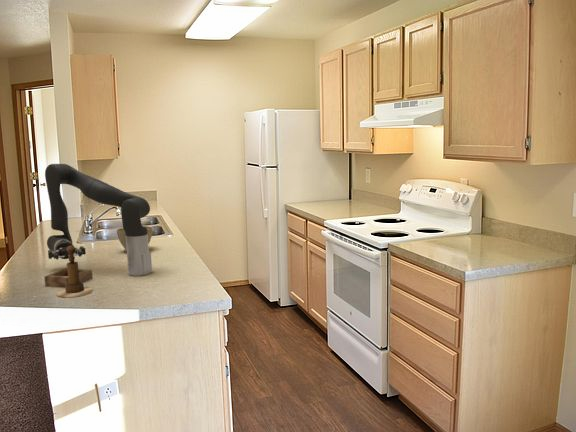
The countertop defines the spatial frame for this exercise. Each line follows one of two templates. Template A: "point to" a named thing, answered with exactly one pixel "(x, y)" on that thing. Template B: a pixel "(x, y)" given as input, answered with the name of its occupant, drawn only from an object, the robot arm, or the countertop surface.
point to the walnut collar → (66, 277)
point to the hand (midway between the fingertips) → (68, 255)
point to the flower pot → (122, 235)
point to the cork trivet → (68, 295)
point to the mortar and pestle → (73, 273)
